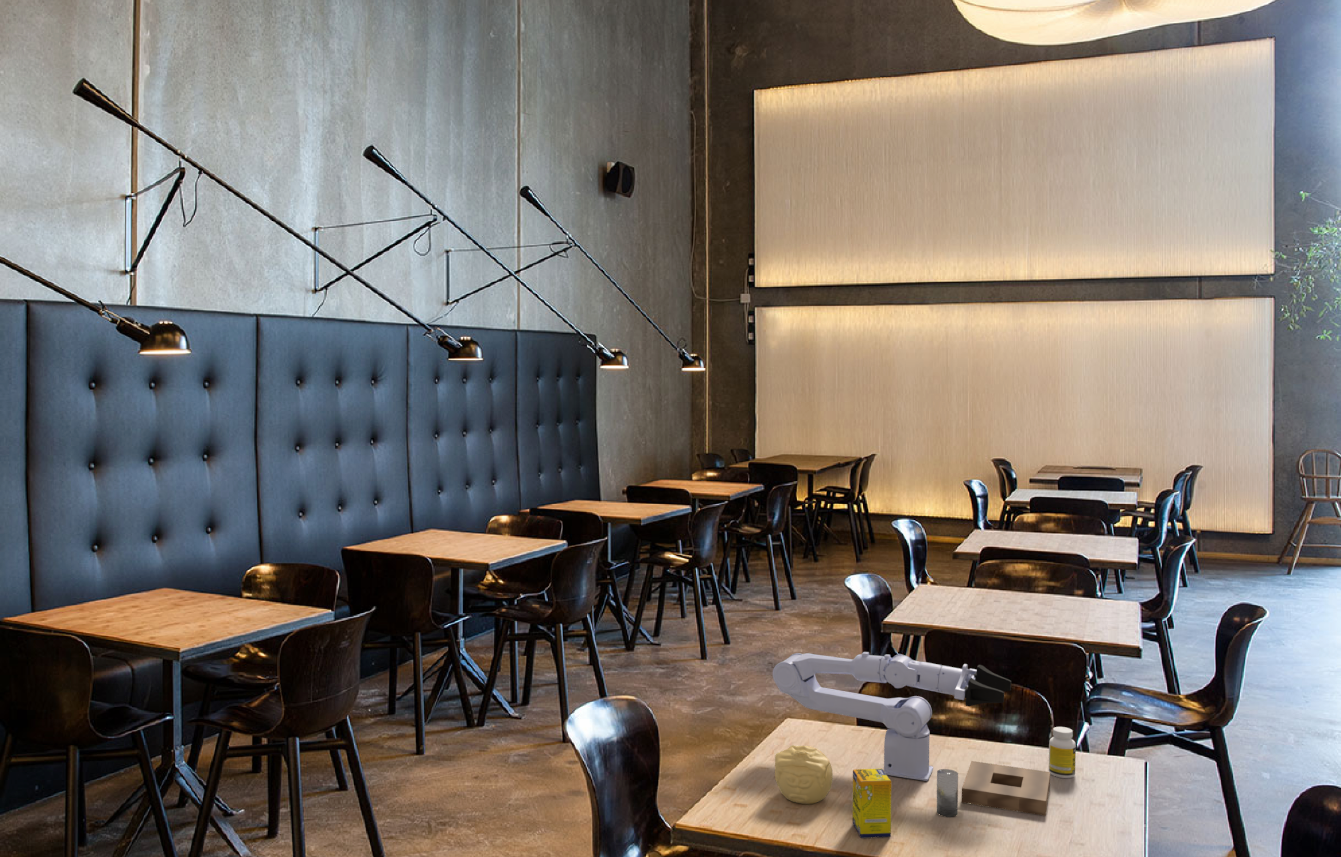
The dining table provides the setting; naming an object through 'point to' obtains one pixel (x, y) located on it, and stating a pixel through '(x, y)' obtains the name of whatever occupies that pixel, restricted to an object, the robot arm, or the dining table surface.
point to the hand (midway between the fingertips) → (1007, 691)
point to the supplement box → (871, 803)
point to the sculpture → (803, 774)
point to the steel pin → (947, 792)
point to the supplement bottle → (1062, 753)
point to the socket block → (1007, 788)
